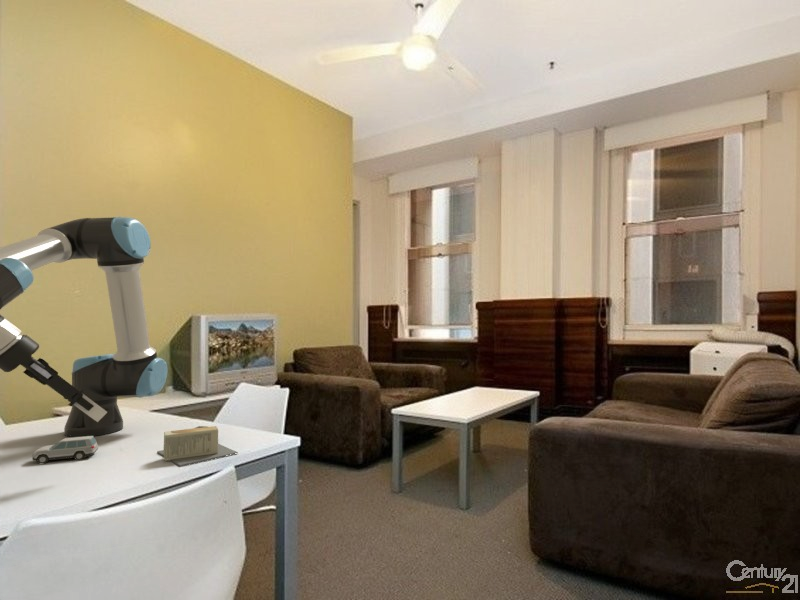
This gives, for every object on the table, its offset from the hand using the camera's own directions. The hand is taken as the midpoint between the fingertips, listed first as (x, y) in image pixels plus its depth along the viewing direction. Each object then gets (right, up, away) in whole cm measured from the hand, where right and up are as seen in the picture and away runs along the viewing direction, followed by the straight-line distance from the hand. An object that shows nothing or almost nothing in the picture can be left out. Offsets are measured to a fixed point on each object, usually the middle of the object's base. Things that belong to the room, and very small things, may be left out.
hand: (101, 416), depth 105 cm
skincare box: (+10, -9, +8) cm, 15 cm away
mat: (+16, -13, +13) cm, 24 cm away
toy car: (-15, -13, +10) cm, 23 cm away
